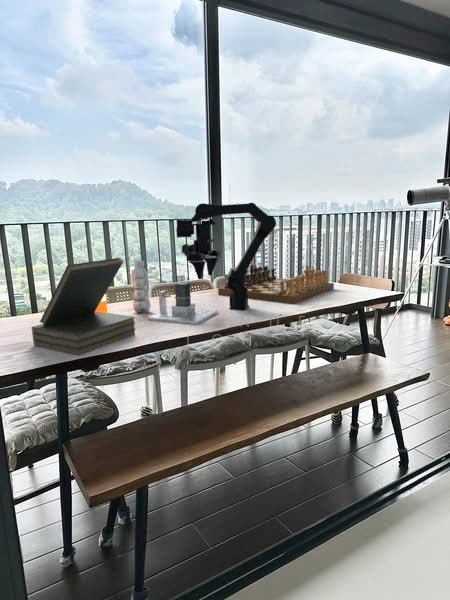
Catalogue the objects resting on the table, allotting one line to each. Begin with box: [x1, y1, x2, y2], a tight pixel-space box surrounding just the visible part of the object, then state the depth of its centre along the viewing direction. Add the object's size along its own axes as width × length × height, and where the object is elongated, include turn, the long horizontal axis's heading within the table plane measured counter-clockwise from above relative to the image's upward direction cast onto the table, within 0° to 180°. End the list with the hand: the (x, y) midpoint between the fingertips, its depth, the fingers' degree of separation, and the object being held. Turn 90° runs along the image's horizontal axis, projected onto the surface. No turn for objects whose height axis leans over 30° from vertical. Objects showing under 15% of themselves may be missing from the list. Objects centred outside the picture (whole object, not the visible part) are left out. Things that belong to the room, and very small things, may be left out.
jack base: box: [147, 290, 219, 325], centre depth 155 cm, size 20×18×9 cm
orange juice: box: [95, 292, 108, 313], centre depth 158 cm, size 8×9×20 cm
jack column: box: [174, 281, 192, 306], centre depth 155 cm, size 4×4×8 cm
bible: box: [31, 257, 136, 356], centre depth 127 cm, size 23×20×25 cm
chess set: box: [217, 262, 335, 305], centre depth 198 cm, size 40×40×15 cm
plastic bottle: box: [130, 260, 152, 314], centre depth 162 cm, size 6×7×20 cm
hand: (204, 277), depth 164 cm, fingers open, 9 cm apart
